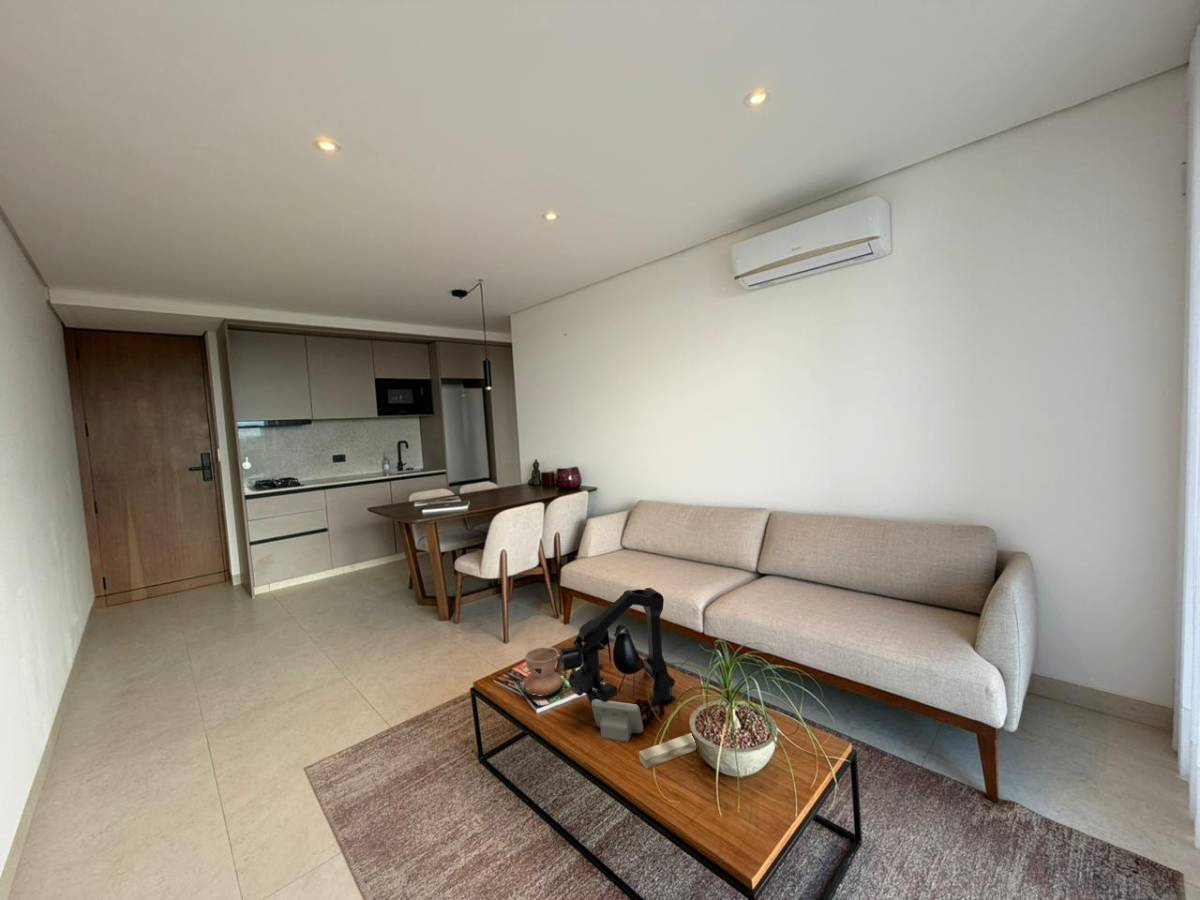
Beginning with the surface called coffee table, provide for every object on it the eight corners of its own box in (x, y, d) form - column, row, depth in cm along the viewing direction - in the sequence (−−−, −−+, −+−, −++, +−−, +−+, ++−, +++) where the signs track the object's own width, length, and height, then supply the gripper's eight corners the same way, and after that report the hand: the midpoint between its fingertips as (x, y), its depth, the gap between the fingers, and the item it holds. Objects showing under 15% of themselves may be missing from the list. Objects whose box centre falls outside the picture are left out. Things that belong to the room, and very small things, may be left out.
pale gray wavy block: (691, 742, 151) (691, 732, 150) (699, 749, 147) (698, 740, 147) (639, 761, 144) (639, 751, 143) (646, 769, 140) (645, 759, 140)
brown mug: (536, 707, 174) (534, 668, 174) (513, 692, 185) (511, 655, 184) (574, 687, 187) (573, 650, 186) (551, 674, 197) (549, 639, 197)
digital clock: (646, 731, 157) (644, 699, 156) (633, 748, 149) (631, 714, 148) (602, 718, 165) (600, 688, 164) (588, 734, 157) (586, 701, 157)
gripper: (555, 663, 166) (558, 708, 166) (591, 682, 152) (595, 731, 153) (580, 652, 173) (583, 695, 174) (617, 669, 159) (620, 715, 160)
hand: (594, 708), depth 165 cm, fingers closed
